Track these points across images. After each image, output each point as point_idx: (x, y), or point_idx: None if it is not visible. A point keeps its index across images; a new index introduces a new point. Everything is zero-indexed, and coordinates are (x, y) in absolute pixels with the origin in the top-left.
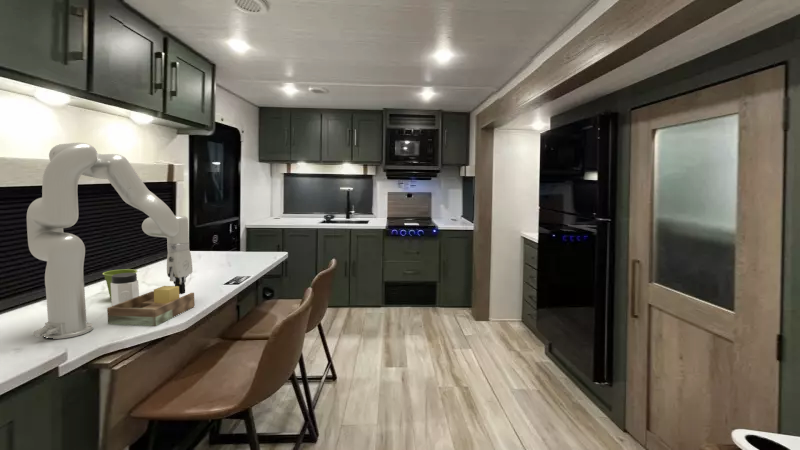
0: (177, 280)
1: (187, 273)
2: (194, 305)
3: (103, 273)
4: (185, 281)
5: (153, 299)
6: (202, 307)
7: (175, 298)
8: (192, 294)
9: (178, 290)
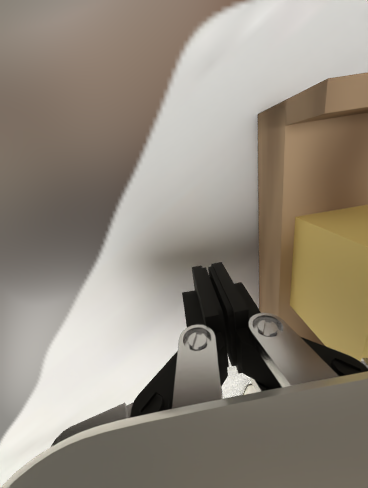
0: (350, 359)
1: (238, 438)
2: (262, 112)
3: None
4: (184, 338)
5: (309, 338)
6: (263, 38)
7: (354, 212)
8: (349, 78)
9: (358, 237)
